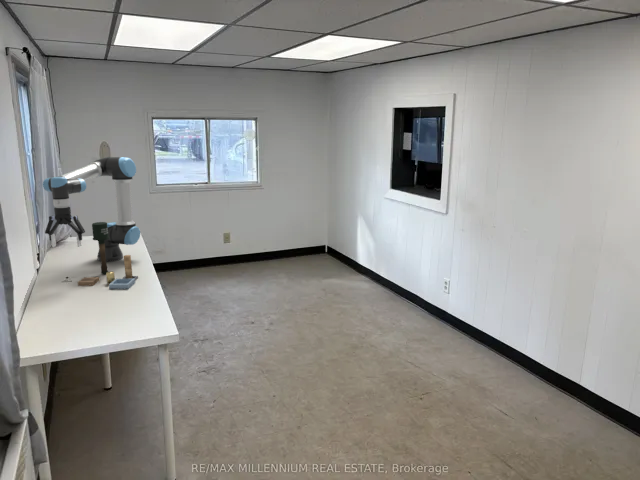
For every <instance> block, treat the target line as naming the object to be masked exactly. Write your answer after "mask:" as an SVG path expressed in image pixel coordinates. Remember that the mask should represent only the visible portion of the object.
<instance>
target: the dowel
mask: <svg viewBox="0 0 640 480" xmlns="http://www.w3.org/2000/svg"><path fill="white" fill-rule="evenodd" d="M123 265H124V277H125V276H126V279H134V278H133V276H134V275H133V268H132V267H133V265H132V256H131V254H126V255H123Z"/></svg>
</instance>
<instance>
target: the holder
mask: <svg viewBox="0 0 640 480" xmlns="http://www.w3.org/2000/svg"><path fill="white" fill-rule="evenodd" d="M132 276H133V279H135V281H137V280H138V279H139V276H138V275H132ZM121 279H126V276H125V275H124V276H123V277H122V278H121Z"/></svg>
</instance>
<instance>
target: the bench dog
mask: <svg viewBox="0 0 640 480" xmlns="http://www.w3.org/2000/svg"><path fill="white" fill-rule="evenodd" d="M105 277H106V284H107V285H109V284H110V283H111V282H113V281H114V280H115V279H116V276H115V271H111V270H110V271H108V272H106V276H105Z"/></svg>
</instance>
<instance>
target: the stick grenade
mask: <svg viewBox="0 0 640 480" xmlns="http://www.w3.org/2000/svg"><path fill="white" fill-rule="evenodd" d="M107 223H108V222H106V221H99V222H93V223H92V224H91V229H92V240H93V241H97V243H98V251H99V250H100V257H101V261H100V268H101V269H100V273H101V275H102V276H105V275H106V272H109V269H108V265H107V262H106V256H105V240H106V239H109V236H108V227H107Z"/></svg>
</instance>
